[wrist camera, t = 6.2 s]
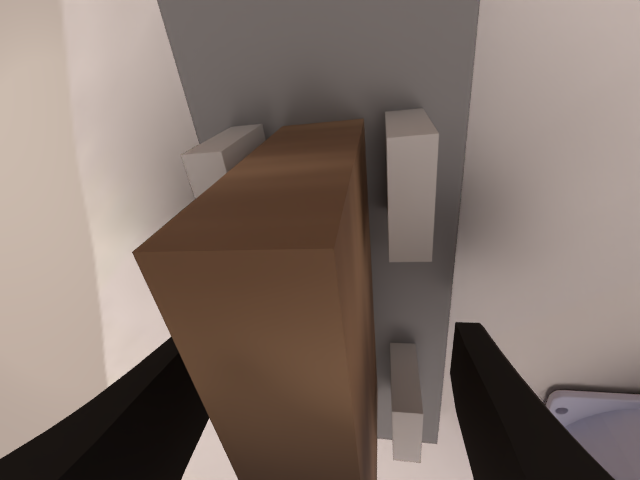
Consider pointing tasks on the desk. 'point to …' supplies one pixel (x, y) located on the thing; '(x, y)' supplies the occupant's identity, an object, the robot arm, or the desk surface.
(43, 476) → the robot arm
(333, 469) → the door panel
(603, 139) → the desk surface
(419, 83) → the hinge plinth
